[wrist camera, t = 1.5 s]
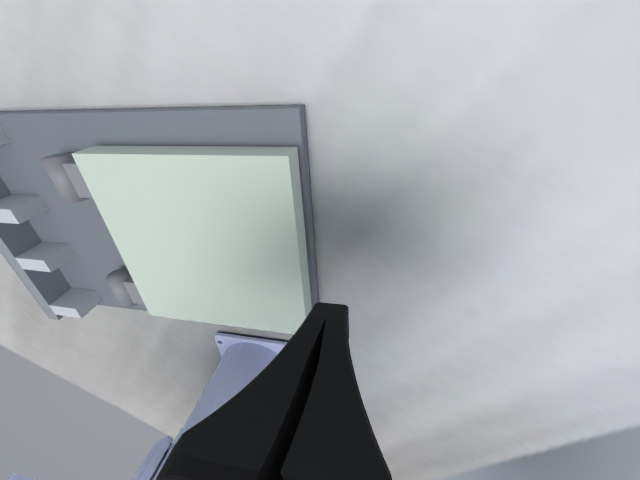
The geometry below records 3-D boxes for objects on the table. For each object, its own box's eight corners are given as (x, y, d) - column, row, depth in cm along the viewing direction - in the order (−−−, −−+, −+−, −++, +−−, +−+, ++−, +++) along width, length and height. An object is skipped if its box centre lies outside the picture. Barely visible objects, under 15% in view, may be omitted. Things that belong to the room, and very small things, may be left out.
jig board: (320, 322, 27) (311, 356, 24) (80, 293, 32) (49, 318, 29) (304, 104, 18) (286, 117, 15) (-32, 112, 23) (-96, 122, 20)
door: (312, 318, 25) (307, 336, 24) (132, 297, 28) (117, 311, 27) (297, 146, 18) (288, 156, 16) (55, 145, 21) (29, 153, 20)
